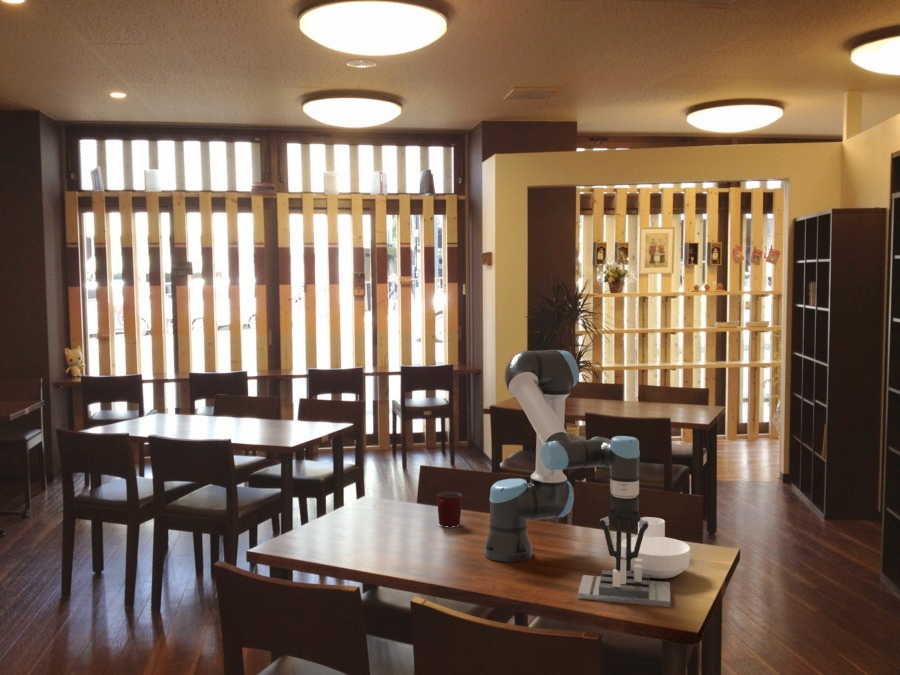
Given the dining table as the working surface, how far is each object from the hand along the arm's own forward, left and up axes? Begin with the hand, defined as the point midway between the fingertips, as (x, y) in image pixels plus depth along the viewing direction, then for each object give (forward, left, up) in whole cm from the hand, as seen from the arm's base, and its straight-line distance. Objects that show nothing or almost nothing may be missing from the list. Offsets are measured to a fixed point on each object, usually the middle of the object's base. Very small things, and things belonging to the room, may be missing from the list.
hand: (623, 582), depth 214 cm
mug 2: (+6, +43, -5) cm, 44 cm away
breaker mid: (+4, +5, -1) cm, 7 cm away
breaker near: (-2, 0, -1) cm, 2 cm away
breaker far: (+4, +11, -1) cm, 11 cm away
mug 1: (-64, +57, -5) cm, 86 cm away
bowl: (+8, +24, -5) cm, 26 cm away
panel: (0, +5, -5) cm, 7 cm away
